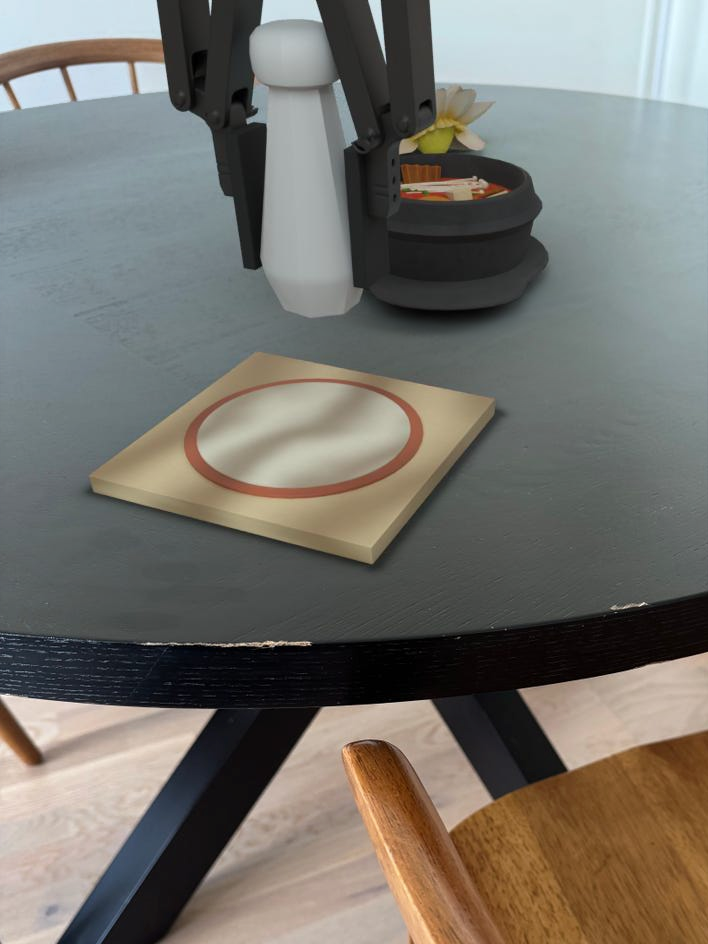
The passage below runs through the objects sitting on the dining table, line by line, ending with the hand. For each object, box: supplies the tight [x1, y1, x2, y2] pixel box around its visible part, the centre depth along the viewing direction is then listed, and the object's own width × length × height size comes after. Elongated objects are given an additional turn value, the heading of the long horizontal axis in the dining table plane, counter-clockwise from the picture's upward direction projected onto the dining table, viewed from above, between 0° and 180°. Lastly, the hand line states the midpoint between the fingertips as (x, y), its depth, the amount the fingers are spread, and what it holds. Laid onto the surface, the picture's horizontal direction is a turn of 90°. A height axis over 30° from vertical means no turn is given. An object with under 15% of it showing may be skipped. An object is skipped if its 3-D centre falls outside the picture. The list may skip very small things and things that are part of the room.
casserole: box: [368, 152, 550, 312], centre depth 83 cm, size 25×19×8 cm
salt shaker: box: [249, 18, 364, 319], centre depth 48 cm, size 6×6×13 cm
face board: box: [88, 350, 496, 565], centre depth 62 cm, size 19×19×2 cm
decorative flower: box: [399, 84, 497, 156], centre depth 112 cm, size 15×11×10 cm
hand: (316, 269), depth 51 cm, fingers closed on salt shaker, 6 cm apart
